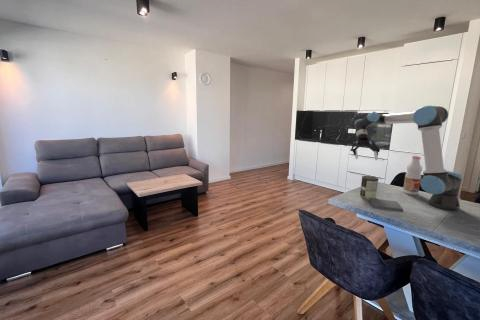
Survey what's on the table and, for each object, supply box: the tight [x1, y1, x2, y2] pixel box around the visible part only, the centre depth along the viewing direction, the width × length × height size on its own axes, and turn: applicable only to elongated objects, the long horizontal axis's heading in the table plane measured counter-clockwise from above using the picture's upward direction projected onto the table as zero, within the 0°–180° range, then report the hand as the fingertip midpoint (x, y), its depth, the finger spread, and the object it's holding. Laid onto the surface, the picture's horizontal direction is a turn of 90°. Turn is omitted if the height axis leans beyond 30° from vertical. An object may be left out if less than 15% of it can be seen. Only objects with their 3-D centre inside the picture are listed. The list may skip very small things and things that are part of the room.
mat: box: [368, 198, 404, 212], centre depth 150 cm, size 16×14×2 cm
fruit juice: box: [402, 155, 423, 196], centre depth 173 cm, size 9×9×28 cm
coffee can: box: [359, 175, 379, 200], centre depth 164 cm, size 10×10×14 cm
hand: (366, 158), depth 170 cm, fingers open, 13 cm apart
